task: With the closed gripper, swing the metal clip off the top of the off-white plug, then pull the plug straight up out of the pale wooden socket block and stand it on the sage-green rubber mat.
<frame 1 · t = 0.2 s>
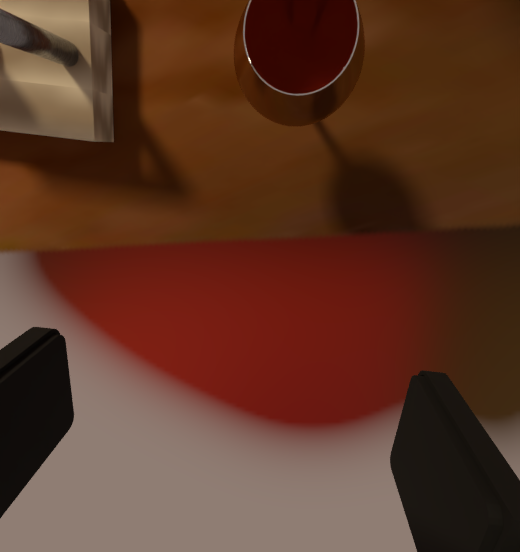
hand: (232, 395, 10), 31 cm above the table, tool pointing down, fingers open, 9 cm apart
socket block: (12, 54, 36), on the table
wineglass: (295, 87, 35), on the table
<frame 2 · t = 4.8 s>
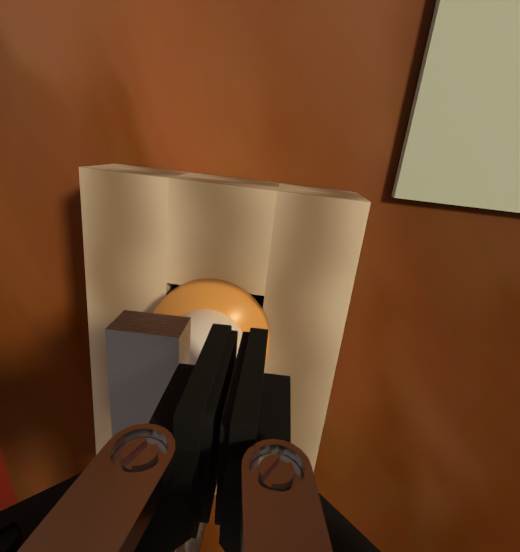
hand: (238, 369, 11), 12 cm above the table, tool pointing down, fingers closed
plug: (224, 302, 24), resting in socket block
clip: (183, 440, 17), point 9 cm above the table, hinge at 1.2°, touching gripper
socket block: (222, 330, 24), on the table
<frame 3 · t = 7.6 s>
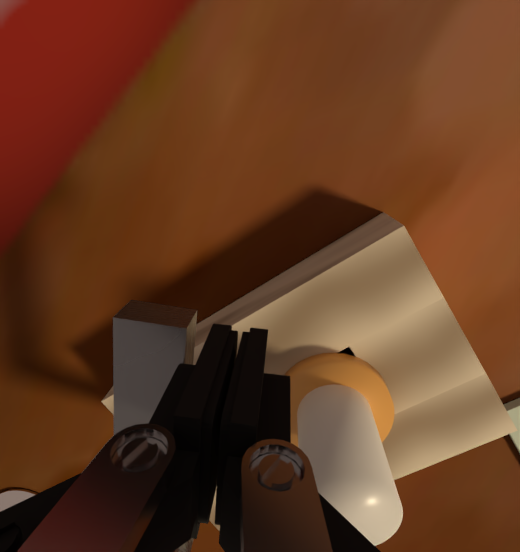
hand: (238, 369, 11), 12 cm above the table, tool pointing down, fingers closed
plug: (324, 362, 25), resting in socket block
clip: (180, 434, 17), point 9 cm above the table, hinge at 48.9°, touching gripper
socket block: (299, 375, 25), on the table
wineglass: (29, 513, 32), on the table
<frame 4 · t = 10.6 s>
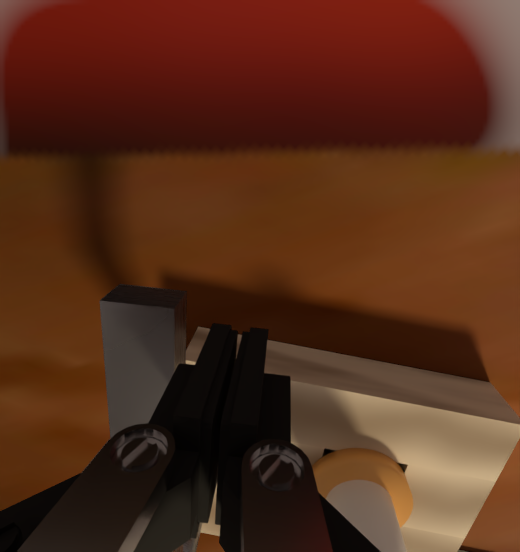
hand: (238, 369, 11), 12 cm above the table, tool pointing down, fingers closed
plug: (346, 438, 27), resting in socket block
clip: (182, 423, 17), point 9 cm above the table, hinge at 95.0°
socket block: (319, 433, 27), on the table
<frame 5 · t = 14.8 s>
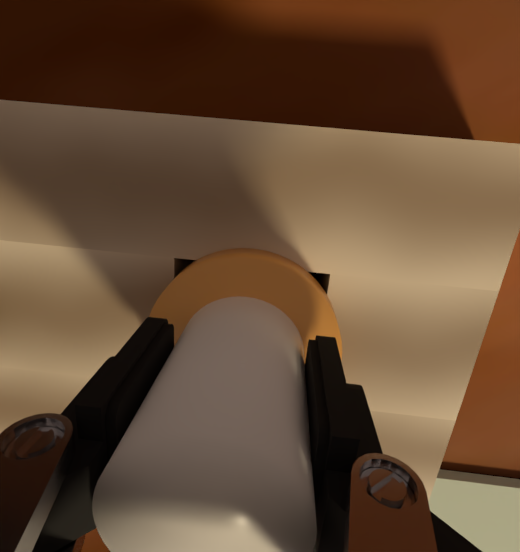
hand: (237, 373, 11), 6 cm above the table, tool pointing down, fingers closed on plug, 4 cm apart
plug: (256, 291, 17), resting in socket block, touching gripper
socket block: (212, 287, 17), on the table
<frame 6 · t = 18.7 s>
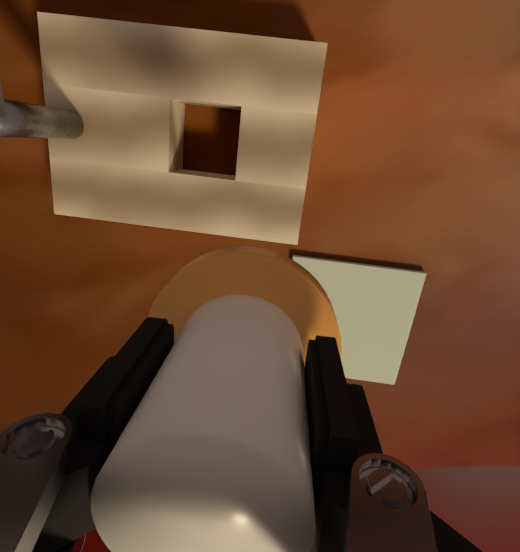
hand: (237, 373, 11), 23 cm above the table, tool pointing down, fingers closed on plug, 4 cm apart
plug: (255, 290, 17), point 17 cm above the table, touching gripper
socket block: (190, 138, 31), on the table
mat: (345, 321, 35), on the table
when the fingers open (8 cm above the table, at t = 22.6 s): plug drops 1 cm, resting on mat.
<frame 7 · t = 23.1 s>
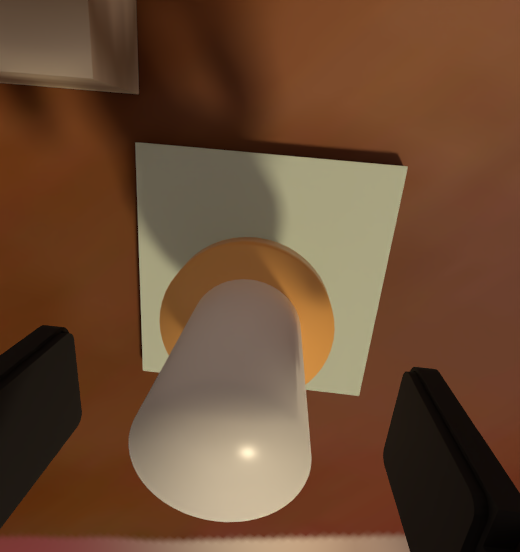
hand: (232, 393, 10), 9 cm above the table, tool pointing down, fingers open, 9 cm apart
plug: (256, 279, 18), resting on mat
mat: (259, 277, 19), on the table
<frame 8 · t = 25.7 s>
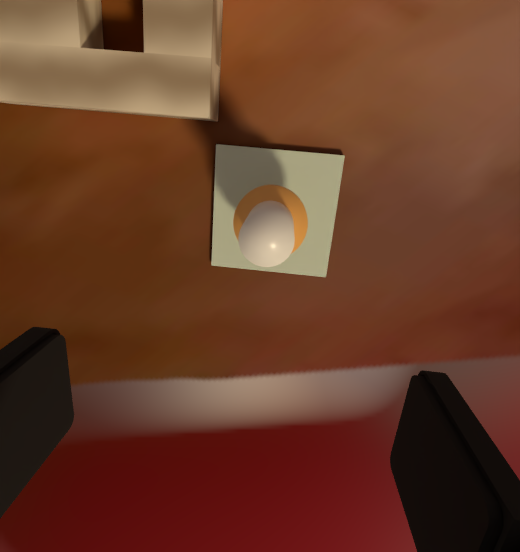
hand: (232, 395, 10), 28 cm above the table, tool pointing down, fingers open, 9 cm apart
plug: (272, 213, 36), resting on mat
socket block: (109, 25, 32), on the table
mat: (273, 212, 36), on the table
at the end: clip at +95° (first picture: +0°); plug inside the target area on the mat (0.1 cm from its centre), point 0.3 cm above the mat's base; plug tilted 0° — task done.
